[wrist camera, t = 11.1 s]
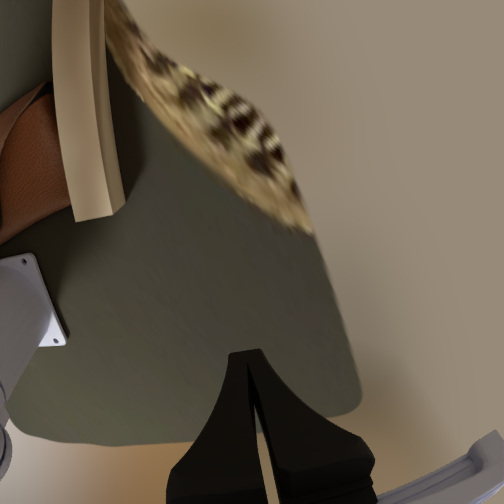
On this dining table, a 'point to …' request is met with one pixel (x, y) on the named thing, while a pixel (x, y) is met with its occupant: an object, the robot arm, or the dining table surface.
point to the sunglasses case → (30, 162)
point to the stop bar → (85, 109)
